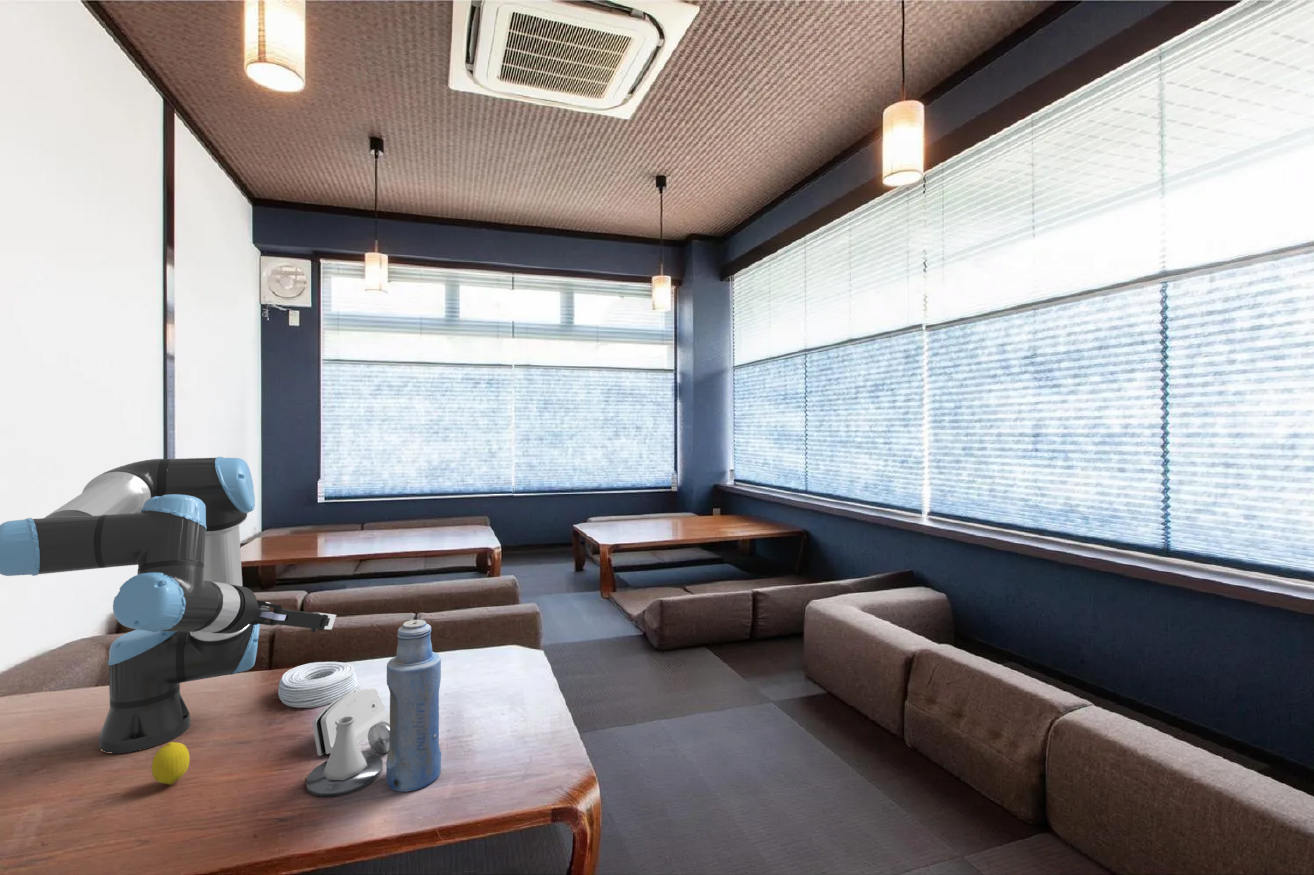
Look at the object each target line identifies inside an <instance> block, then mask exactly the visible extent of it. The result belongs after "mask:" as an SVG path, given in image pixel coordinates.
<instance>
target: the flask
mask: <svg viewBox="0 0 1314 875" xmlns="http://www.w3.org/2000/svg"><path fill="white" fill-rule="evenodd" d="M354 721H355V718H354V717H353V716H344V717H341V718H339V719H337V720H336V721H335V724H336V725H337V733H336V738H335V743H334V745H333V748H332V751H331V753H329V757H328V760H327V761H328V762H327V764H326V767H325V769H324V772H323V775H324V776H325V777H326V778H327V779H328V780H345V779H348V778H350V777H352V776H355V775H357V774H359V773H360V772H361V771H362V770H363V769H364V768H365V767H366V766H367V763H366V761H365V758H364V756H363V754H362V750H361V748H360V746H359V744H358V743H357V741H356V738H355V735H354V730H353V722H354Z"/></svg>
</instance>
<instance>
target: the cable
mask: <svg viewBox="0 0 1314 875" xmlns="http://www.w3.org/2000/svg"><path fill="white" fill-rule="evenodd" d="M358 683H359V681H358V678H357V674H356V668H355V667H354V666H353V665H352V664H350V663H346V662H342V661H341V662H339V661H316V662H309V663H305V664H302V665H297V666H295V667H293V668H291V669H288V670H286V672H284V673H283V675H282V676H281V678H280V680H279V683H278V689H277V691H278V692H277V693H278V697H279V700H280V701H281V702H282V704H284V705H286V706H288V707H291V708H300V709H301V708H302V709H311V708H317V707H321V706H325V705H328V704H331V703H333V702H334V701H336V700H337V699H339V698H341V697H343V696H344V695H347V694H349V693H352V692H356V691H357V688H358V685H359V684H358Z"/></svg>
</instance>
